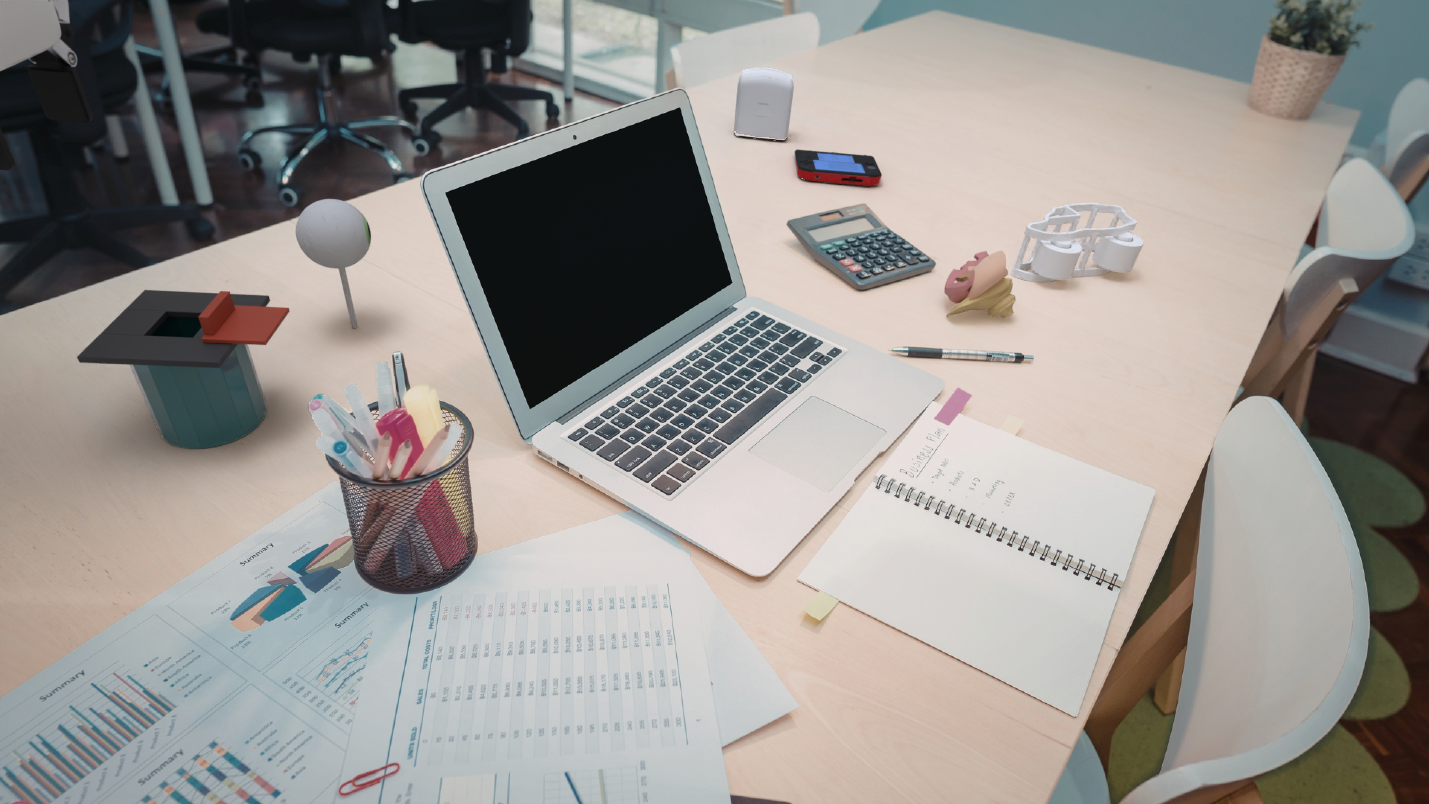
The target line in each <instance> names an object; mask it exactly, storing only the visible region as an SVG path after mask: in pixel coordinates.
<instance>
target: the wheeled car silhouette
mask: <svg viewBox="0 0 1429 804" xmlns="http://www.w3.org/2000/svg"><path fill="white" fill-rule="evenodd" d="M1082 212H1090V215H1089V216H1088V219H1087V222H1086V225H1085V227H1084V228H1078V229H1077V227H1078V224H1079V222H1080V219H1081V216H1082V214H1081V213H1082ZM1098 213H1100V214H1113V217H1112V220H1111V222H1110V224H1109V227H1099V228H1098V227H1096V228H1095V227H1093V225H1094V222H1095V220H1096V217H1097V214H1098ZM1119 220H1120V222H1122V225H1119V226H1117V225H1118V223H1119ZM1137 223H1138V220H1136V219H1135V218H1133V217H1131V216H1130V215H1129V213H1127V212H1126V211H1125V208H1124V207H1123V206H1120V205H1116V204H1103V203H1101V202H1081V203H1069V204H1068V203H1067V204H1062V205H1061V206H1055V207H1054V206H1053V207H1052V208H1051V210H1050V211H1049V212H1047V213H1046V214H1045V215H1044V218H1043V220H1041V221H1034V222H1029V223H1028V224H1027V225H1026V226H1025V230H1024V233H1023V234H1024V237H1023V241H1022V243H1021V246H1020V248H1019V251H1018V255H1017V257H1016V261H1015V263H1014V264H1013V267H1012V269H1011V272H1010V275H1011V276H1012V277H1014V278H1017V279H1020V280H1023V281H1025V282H1031V283H1032V282H1033V283H1048V282H1056V281H1061V280H1062V281H1064V280H1065V281H1066V280H1069V279H1070V278H1084V277H1097V276H1102V275H1105V274H1107V273H1109V272H1114V273H1128V272H1131V271H1132V270H1133V268H1134V267H1135V264H1136V262H1137V259H1138V257H1139V255H1140V253H1141V250H1142V248H1143V247H1144V244H1145V241H1144V240H1143V238H1141V236H1139V235H1138V234H1135V233H1133V231H1134V230H1135V228H1136V226H1137ZM1067 224H1070V226H1069V229H1068V231H1065V232H1060V231H1061V228H1062V226H1063V225H1067ZM1049 226H1054V229H1053V232H1051V231H1047V229H1048V227H1049ZM1092 227H1093V228H1092ZM1088 238H1089V239H1088ZM1097 238H1099V240H1098V242H1096V241H1097ZM1031 239H1035V240H1036V241H1035V243H1034V246H1033V249H1032V252H1031V255H1030V257H1029V260H1028V261H1024V257H1025V255H1026V252H1027V249H1028V248H1029V247H1028V246H1029V243H1030V242H1031V241H1030V240H1031ZM1077 239H1080V240H1077ZM1087 239H1088V242H1087ZM1082 251H1083V252H1084V253H1083V254H1082ZM1092 252H1093V254H1092V256H1091V253H1092ZM1081 254H1082V257H1081V260H1080V261H1079V259H1080V256H1081ZM1090 256H1091V260H1092V262H1093V263H1094V264H1095V265H1097V267H1086V265H1087V263H1088V260H1089V258H1090ZM1023 261H1024V262H1023ZM1078 261H1079V265H1078V267H1077V268H1076V266H1077V264H1078ZM1030 269H1031V270H1032V271H1033V272H1031V271H1028V270H1030Z"/></svg>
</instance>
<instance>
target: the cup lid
mask: <svg viewBox="0 0 1429 804" xmlns="http://www.w3.org/2000/svg"><path fill="white" fill-rule="evenodd" d="M218 294H219V292H201V291H181V290H180V291H179V290H178V291H177V290H176V291H175V290H157V289H144V290H143V291H142V292H141V293H140V294H139V295H138V296H137V297H136V298H135V299H134V300H132V302H130V304H129V305H128V306H127V307H126V308H125V309H124V310H123V311H122V312H121V313H119V314H118V316H116V317H115V319H113V321H112V322H111V323H109V324H108V325H107V326H106V328H104V329H103V331H101V332H100V333H99V334H98V336H96V338H94V339H93V340H92V341H91V342H90V344H89V343H88V345H87V346H86V347H85V348H84V349H83V350H82V351H81V352H80V353H79V354H78V355H77V356H76V359H77V360H78V362H79V363H80V364H104V365H127V366H128V365H129V366H130V365H153V366H179V367H205V368H220V367H221V366H222V364H223V363H224V362H225V360H226V359H227V358H228V356H229V355H230V354H231V352H232V351H233V350H234V348H235V347H236V346H237V344H227V343H203V342H202V337H203V336H204V335H205V334H204V332H203V329H202V328H201V329H200V330H199V331H198V332H197V334H196V335H195V336H194V337H193V338H187V337H163V336H151V335H152V334H153V333H154V332H155V331H156V329H157V328H158V327H159V326H160V325H161V324H162V323H163V322H164V321H165V320H166V319H167V317H191V318H198V317H199V316H200V314H201V313H202V312H203V311H204V310H205V309H206V307H207V306H208V305H209V304H210V303H211V302H212V301H213V299H214V298H215V297H216V296H217V295H218ZM230 294H231V297H232V300H233V304H234V305H239V306H261V307H268V305H269V304H270V302H271V298H270V295H268V294H267V295H264V294H262V295H261V294H246V293H245V294H244V293H243V294H242V293H230Z"/></svg>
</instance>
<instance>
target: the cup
mask: <svg viewBox="0 0 1429 804" xmlns="http://www.w3.org/2000/svg"><path fill="white" fill-rule="evenodd" d="M201 328H202V326H201V323H200V321H199V318H191V317H167V319H166V320H165V321H164V322H163V323H162V324H161V325H160V326H159V327H158V328H157V329H156V331H155V332H154V333H153V334H152V335H151V336H163V337H187V338H193V337H194V336H195V335H196V334H197V332H198V331H199V330H200V329H201ZM129 368H130V370H131V372H132V375H133V377H134V379H135V382H136V383H137V387H138V388H139V391H140V393H141V395H142V398H143V400H144V402H145V404H146V407H147V409H148V411H149V414H150V416H151V419H152V421H153V423H154V425H155V428H156V430H157V432H158V433H159V435H160V436H161V438H162V440H164V441H165V442H167V443H168V444H169V445H171V446H174V447H178V448H182V449H190V450H201V449H210V448H216V447H220V446H223V445H224V446H225V445H228V444H230V443H232V442H235V441H238V440H240V439H241V438H244V437H246V436H247V435H249V434H251V433H252V432H253V431H254V430H255V429H257V428H258V427H259V426H260V425H261V424H262V422H263V421H264V419H265V417H266V414H267V410H268V409H267V404H266V398H265V395H264V392H263V389H262V385H261V382H260V379H259V376H258V372H257V370H256V366H255V363H254V360H253V357H252V354H251V351H250V348H249V344H237V346H236V347H235V348H234V350H233V351H232V352H231V354H230V355H229V356H228V358H227V359H226V360H225V362H224V363H223V364H222V366H221V367H220V368H205V367H179V366H153V365H129Z"/></svg>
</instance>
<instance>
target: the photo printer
mask: <svg viewBox="0 0 1429 804" xmlns="http://www.w3.org/2000/svg"><path fill="white" fill-rule="evenodd" d="M794 85H795V84H794V81H793V75H792V74H790V73H788V72H787V71H784V70H780V69H776V68H773V67H750V68H746V69H743V70H741V73H740V76H739V78H738V83H737V89H736V97H735V98H736V100H735V111H734V123H733V124H734V125H733V132H734V131H736V133H738V134H744V135H750V136H755V137H769V138H775V139H785V138H786V137H789V129H790V122H791V115H792V106H793V98H794V97H793V96H794V90H795V86H794Z"/></svg>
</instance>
